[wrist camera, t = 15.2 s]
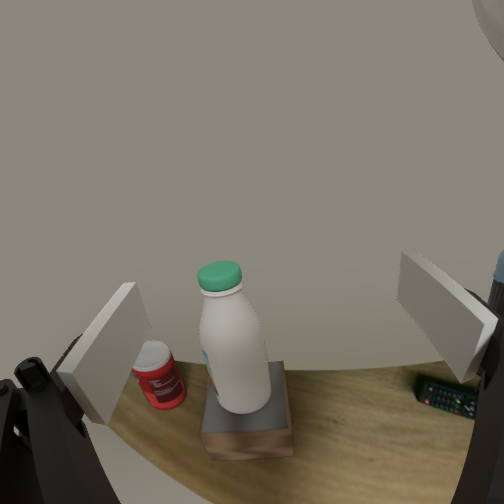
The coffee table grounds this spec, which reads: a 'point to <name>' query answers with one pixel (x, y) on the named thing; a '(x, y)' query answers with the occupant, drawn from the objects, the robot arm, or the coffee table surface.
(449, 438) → the coffee table surface
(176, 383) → the canned food
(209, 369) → the milk bottle
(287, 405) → the riser
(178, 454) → the coffee table surface
